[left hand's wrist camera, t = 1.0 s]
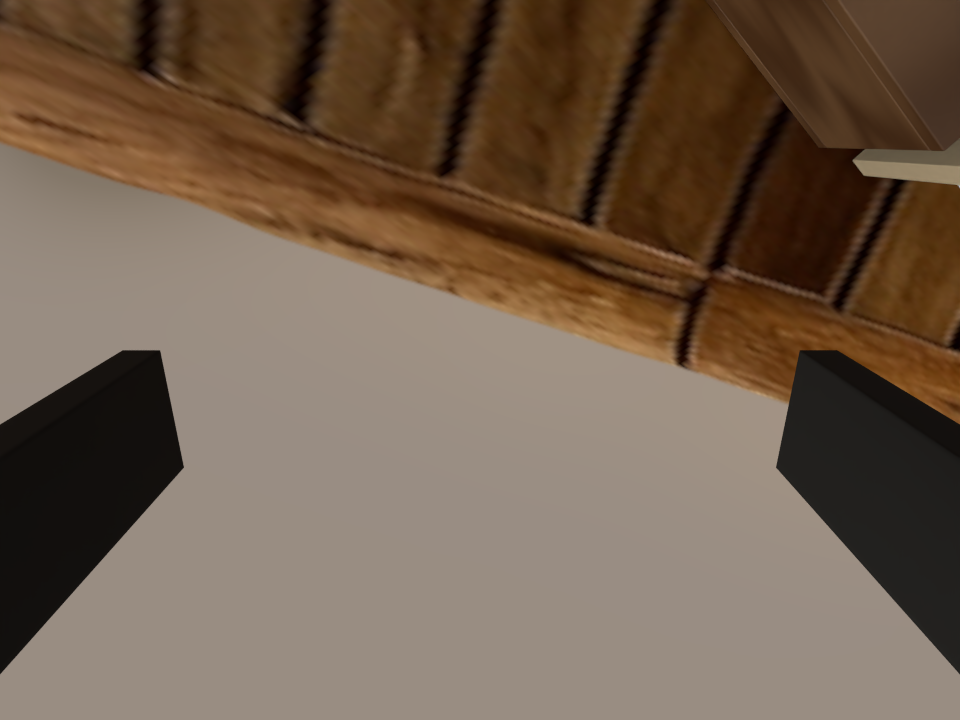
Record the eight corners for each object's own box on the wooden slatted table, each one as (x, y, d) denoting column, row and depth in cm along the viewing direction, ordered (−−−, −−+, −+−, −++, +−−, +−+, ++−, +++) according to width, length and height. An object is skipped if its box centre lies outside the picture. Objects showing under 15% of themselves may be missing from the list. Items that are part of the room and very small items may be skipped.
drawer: (1070, 111, 32) (1247, 103, 25) (912, 240, 35) (1030, 268, 27) (843, -257, 27) (982, -407, 20) (675, -74, 29) (741, -145, 22)
